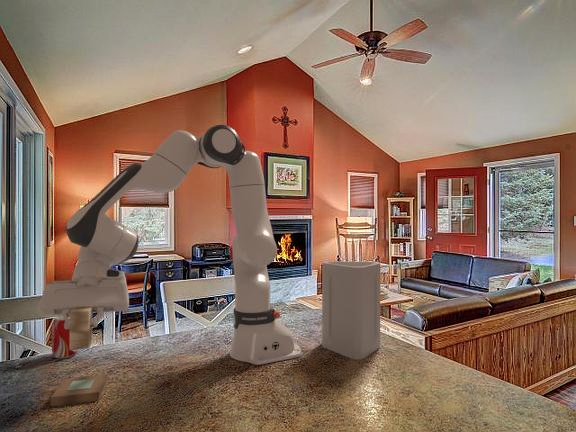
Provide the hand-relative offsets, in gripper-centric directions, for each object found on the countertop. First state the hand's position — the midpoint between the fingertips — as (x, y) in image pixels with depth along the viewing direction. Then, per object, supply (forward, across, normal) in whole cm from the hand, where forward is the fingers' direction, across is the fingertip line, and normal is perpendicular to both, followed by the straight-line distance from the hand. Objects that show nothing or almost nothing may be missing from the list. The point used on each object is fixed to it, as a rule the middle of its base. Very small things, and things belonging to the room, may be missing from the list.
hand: (80, 327), depth 88 cm
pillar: (+3, 0, +4) cm, 5 cm away
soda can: (-9, -11, +32) cm, 35 cm away
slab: (+11, 0, +12) cm, 17 cm away
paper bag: (+5, +77, +17) cm, 79 cm away
